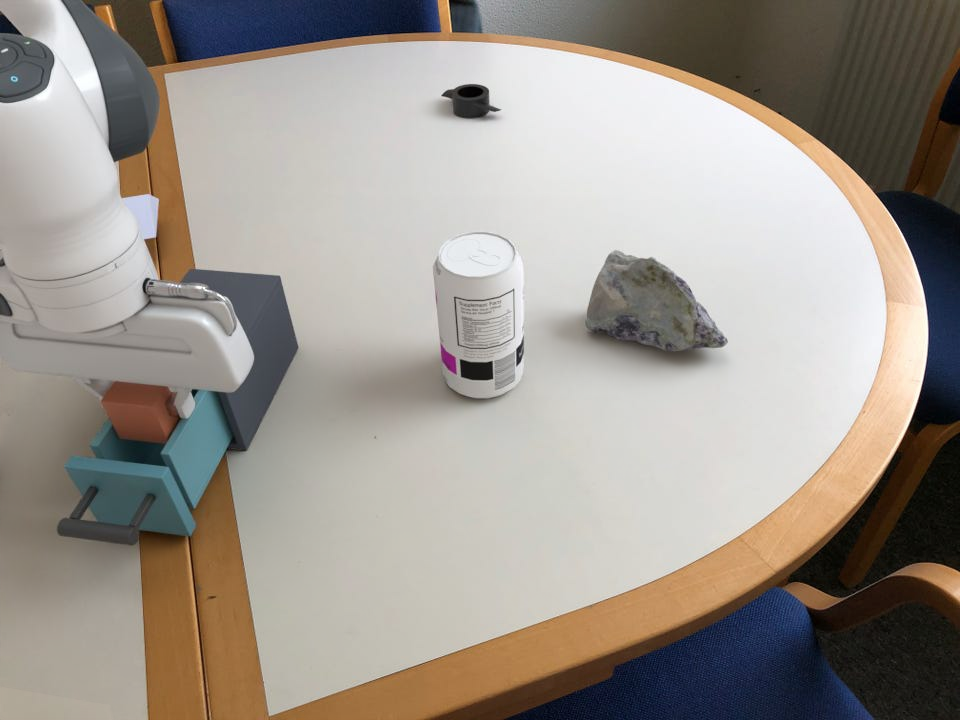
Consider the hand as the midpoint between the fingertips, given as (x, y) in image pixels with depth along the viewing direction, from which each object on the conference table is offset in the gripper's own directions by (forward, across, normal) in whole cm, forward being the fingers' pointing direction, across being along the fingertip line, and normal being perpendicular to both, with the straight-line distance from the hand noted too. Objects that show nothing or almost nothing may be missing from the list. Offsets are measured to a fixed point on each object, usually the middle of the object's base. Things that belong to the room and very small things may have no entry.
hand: (150, 408), depth 66 cm
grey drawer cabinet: (+9, 0, -11) cm, 14 cm away
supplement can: (+9, -25, -17) cm, 32 cm away
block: (+2, 0, 0) cm, 2 cm away
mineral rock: (+9, -42, -24) cm, 49 cm away
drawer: (+8, 0, +2) cm, 8 cm away
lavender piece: (+9, +25, -33) cm, 42 cm away
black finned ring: (+9, -13, -76) cm, 77 cm away
